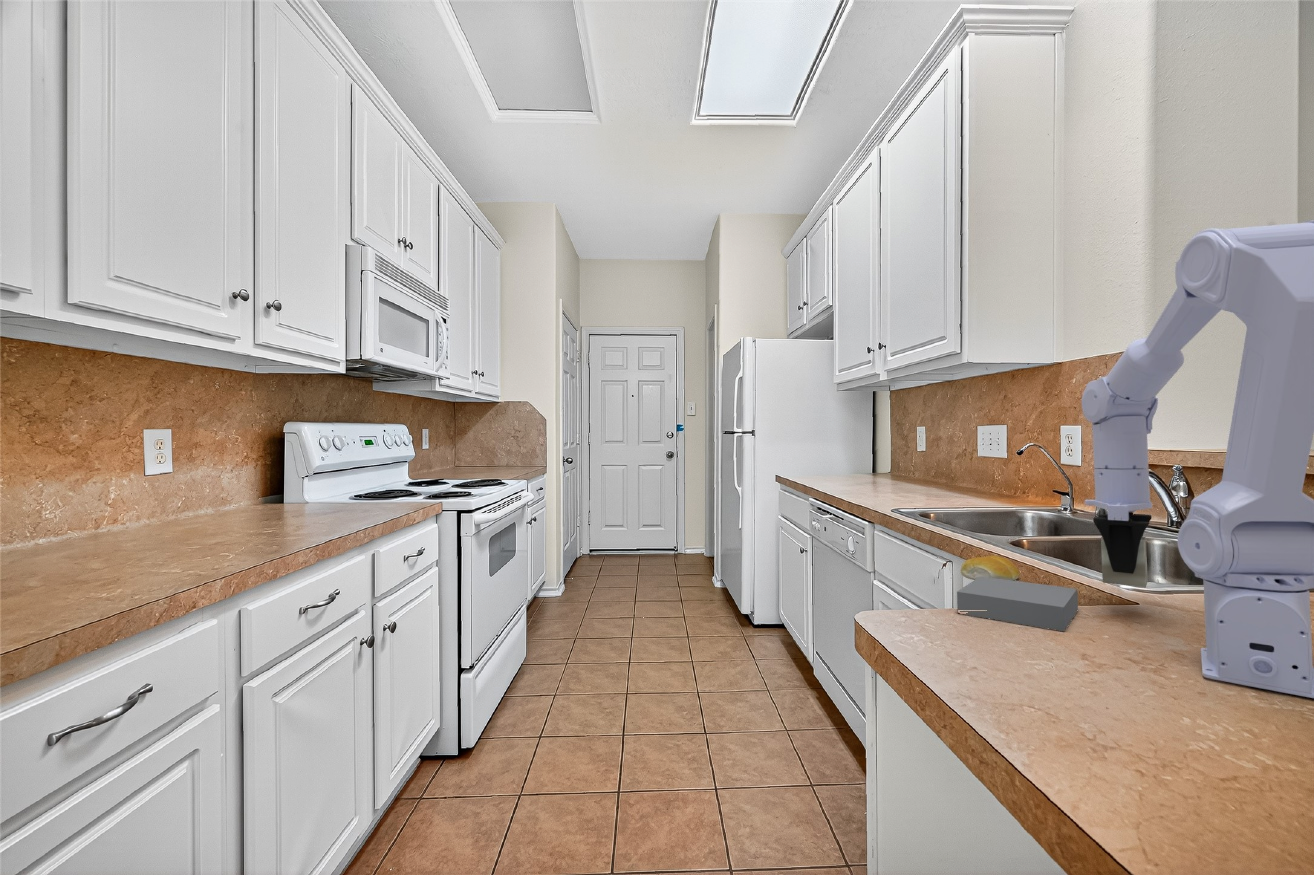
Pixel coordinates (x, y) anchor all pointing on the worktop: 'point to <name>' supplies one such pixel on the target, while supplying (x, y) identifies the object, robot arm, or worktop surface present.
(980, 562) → the bread roll
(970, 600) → the slate plinth
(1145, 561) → the sage block
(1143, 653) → the worktop surface
